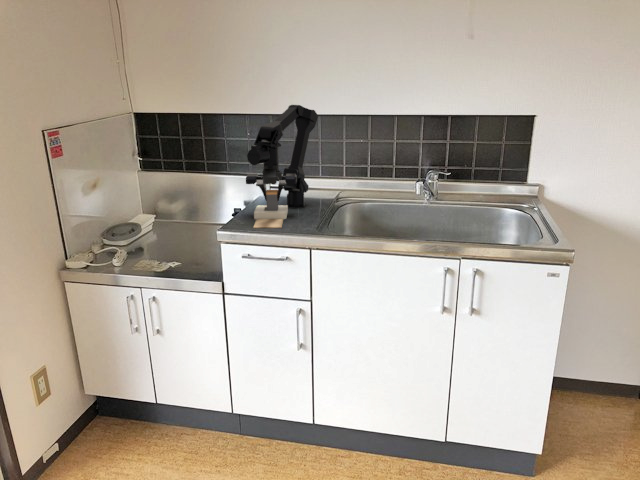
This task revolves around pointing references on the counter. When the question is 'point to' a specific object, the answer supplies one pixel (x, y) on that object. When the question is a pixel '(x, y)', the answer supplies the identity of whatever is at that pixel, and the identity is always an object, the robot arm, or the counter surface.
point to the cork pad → (268, 223)
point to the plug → (272, 200)
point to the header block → (270, 212)
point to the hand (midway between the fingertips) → (272, 200)
